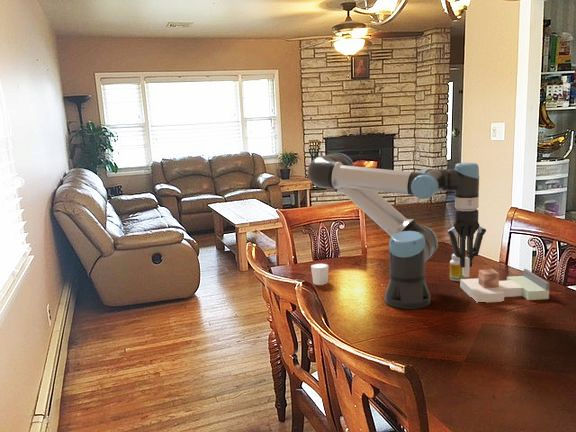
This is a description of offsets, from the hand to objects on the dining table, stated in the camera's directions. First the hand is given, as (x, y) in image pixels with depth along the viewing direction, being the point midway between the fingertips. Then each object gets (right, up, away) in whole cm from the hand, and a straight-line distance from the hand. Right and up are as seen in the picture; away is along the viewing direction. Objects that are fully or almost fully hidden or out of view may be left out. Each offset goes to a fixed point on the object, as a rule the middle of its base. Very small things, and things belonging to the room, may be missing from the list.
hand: (465, 275), depth 173 cm
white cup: (-49, -6, +23) cm, 54 cm away
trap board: (+13, -6, +1) cm, 15 cm away
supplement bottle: (+3, -4, +18) cm, 19 cm away
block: (+8, -3, +1) cm, 9 cm away
